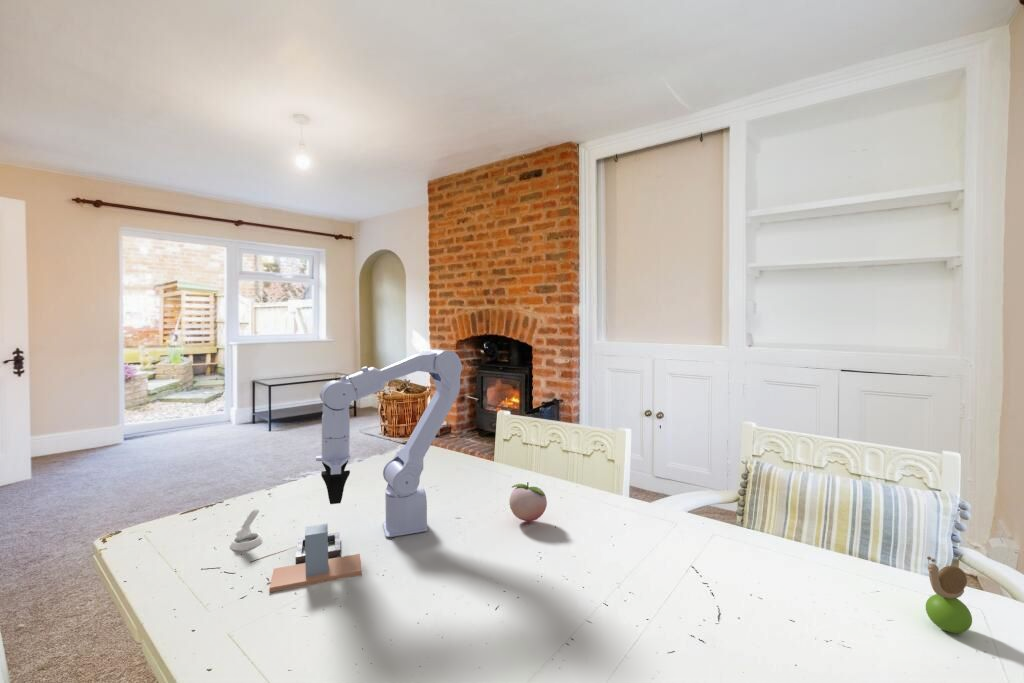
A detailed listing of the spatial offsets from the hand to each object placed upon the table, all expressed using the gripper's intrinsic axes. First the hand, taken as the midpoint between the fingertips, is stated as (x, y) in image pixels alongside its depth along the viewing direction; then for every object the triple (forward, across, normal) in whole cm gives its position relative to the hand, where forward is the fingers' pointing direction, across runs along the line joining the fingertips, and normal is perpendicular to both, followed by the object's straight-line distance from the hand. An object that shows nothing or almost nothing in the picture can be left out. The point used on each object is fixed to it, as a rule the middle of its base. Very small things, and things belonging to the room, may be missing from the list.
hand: (335, 496), depth 102 cm
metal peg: (+10, +12, -3) cm, 16 cm away
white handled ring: (+11, -7, -18) cm, 22 cm away
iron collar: (+10, +2, -3) cm, 11 cm away
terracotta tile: (+10, +12, -3) cm, 16 cm away
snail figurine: (+9, +66, +91) cm, 113 cm away
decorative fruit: (+10, +6, +44) cm, 45 cm away
